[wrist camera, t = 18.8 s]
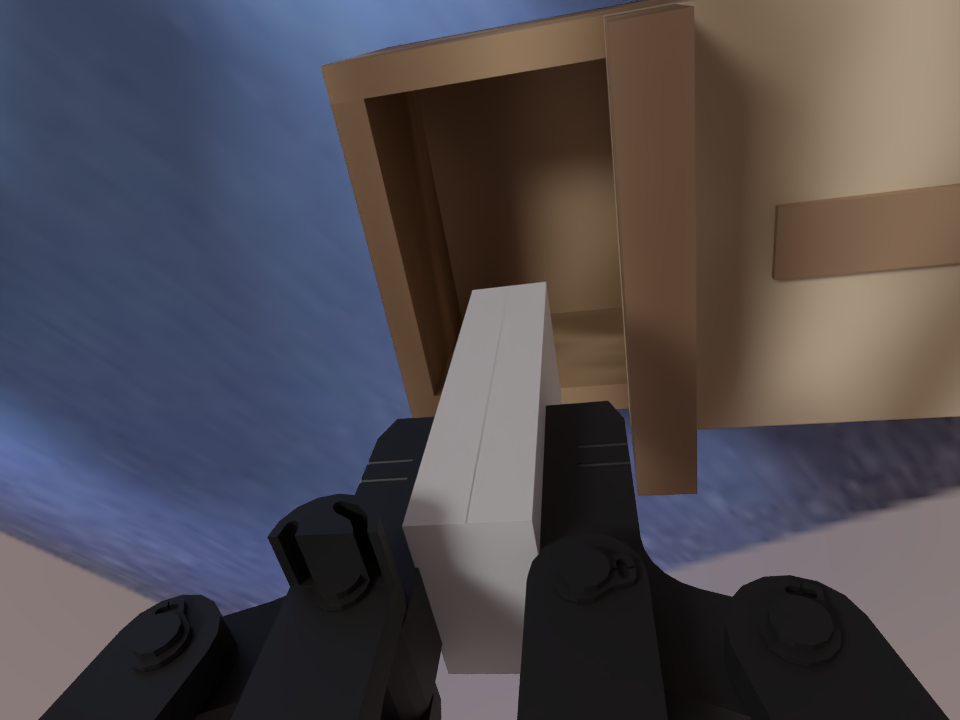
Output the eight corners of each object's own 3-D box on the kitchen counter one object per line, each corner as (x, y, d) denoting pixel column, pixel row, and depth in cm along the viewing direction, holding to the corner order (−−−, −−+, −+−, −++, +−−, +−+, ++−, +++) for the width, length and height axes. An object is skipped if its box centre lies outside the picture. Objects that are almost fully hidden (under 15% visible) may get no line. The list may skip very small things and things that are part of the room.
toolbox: (448, 333, 29) (413, 420, 23) (387, 47, 24) (320, 66, 18) (880, 296, 26) (970, 388, 20) (930, -53, 20) (1077, -72, 14)
